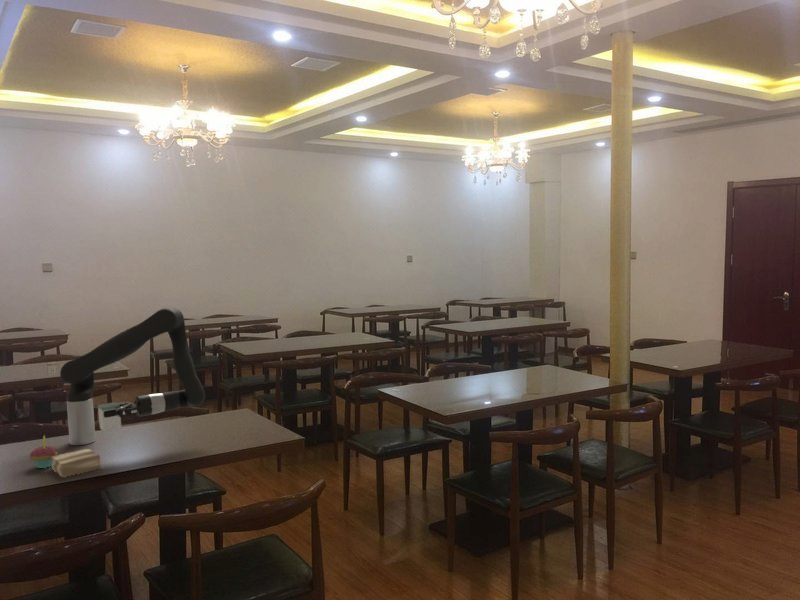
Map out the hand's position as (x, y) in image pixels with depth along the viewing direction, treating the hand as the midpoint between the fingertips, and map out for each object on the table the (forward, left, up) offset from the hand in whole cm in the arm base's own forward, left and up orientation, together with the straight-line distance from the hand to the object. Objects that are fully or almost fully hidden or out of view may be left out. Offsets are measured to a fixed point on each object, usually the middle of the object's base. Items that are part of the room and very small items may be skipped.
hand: (102, 412), depth 231 cm
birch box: (+9, -6, -18) cm, 21 cm away
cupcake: (+5, -19, -17) cm, 26 cm away
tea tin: (-2, +2, -6) cm, 7 cm away
